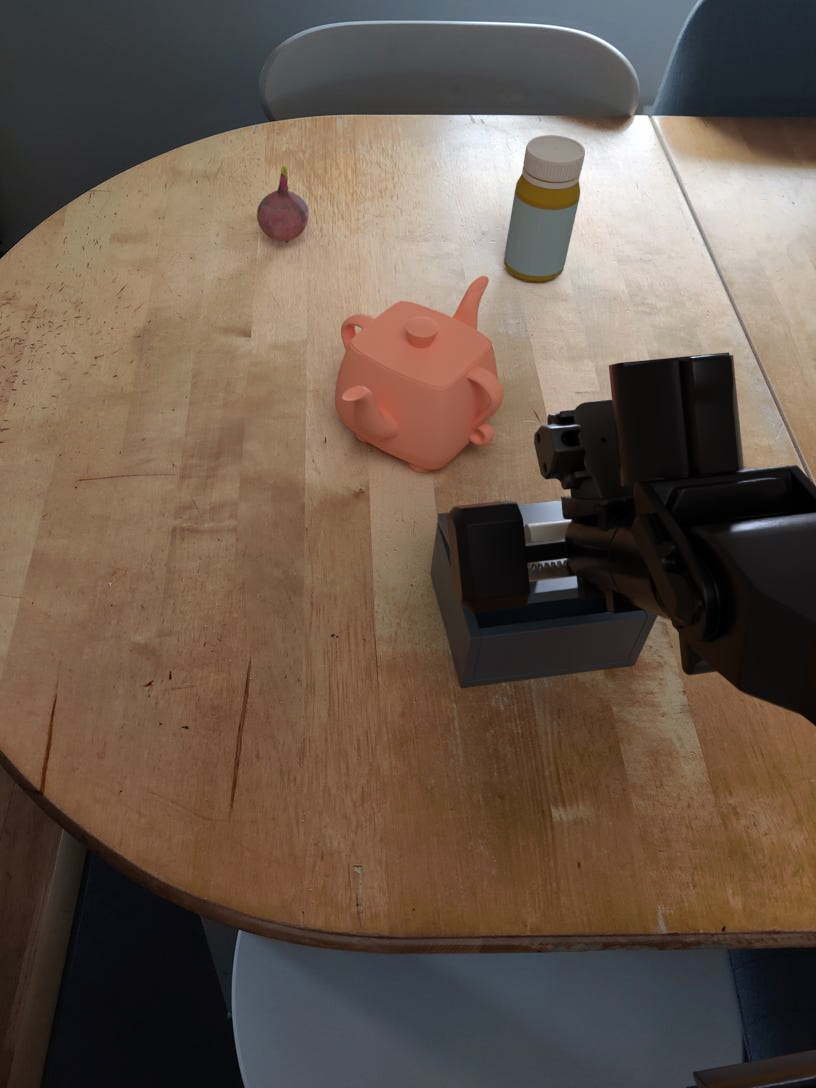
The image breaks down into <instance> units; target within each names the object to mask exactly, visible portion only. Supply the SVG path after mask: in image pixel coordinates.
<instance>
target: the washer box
mask: <svg viewBox="0 0 816 1088" xmlns="http://www.w3.org/2000/svg"><path fill="white" fill-rule="evenodd" d="M430 578H431V581H432V585H433V589H434V593H435V596H436V600H437V604H438V608H439V610H440V615H441V617H442V618H441V619H442V623H443V625H444V629H445V630H444V631H445V633H446V637H447V641H448V645H449V648H450V652H451V657H452V660H453V663H454V667H455V670H456V674H457V678H458V682H459V686H460V688H461V689H465V688H472V687H479V686H487V685H494V684H495V685H497V684H503V683H511V682H517V681H526V680H534V679H539V678H540V679H541V678H549V677H557V676H564V675H572V674H578V673H579V674H580V673H587V672H595V671H602V670H609V669H617V668H624V667H632V666H635V665H636V664H637V661H638V660H639V657H640V654H641V653H642V650H643V648H644V646H645V644H646V642H647V640H648V638H649V635H650V633H651V631H652V629H653V627H654V625H655V622H656V620H657V618H658V617H659V616H658V615H656V614H654V613H651V612H649V611H646V610H640V611H632V612H624V613H616V614H614V613H612V612H610V611H607V607H606V598H598V599H590V600H584V599H581V598H579V597H578V598H570V599H562V600H553V601H545V602H537V603H529V604H527V606H524V607H516V608H508V609H500V610H492V611H484V612H476V613H471V612H470V611H469V610H467V609H466V608H465V607H463V606H462V605H461V604H460V603H459V602H457V601H456V600H455V599H454V590H453V579H452V569H451V559H450V549H449V545H448V543H447V541H446V539H445V537H444V534H443V532H442V530H441V528H440V526H439V524H438V521H437V522H436V530H435V537H434V544H433V552H432V559H431V567H430Z"/></svg>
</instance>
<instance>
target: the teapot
mask: <svg viewBox="0 0 816 1088" xmlns="http://www.w3.org/2000/svg"><path fill="white" fill-rule="evenodd" d="M489 283H490V282H489V277H488V276H487V275H481V276H479V277H477V278H476V279H475V280H473V281H472V282H471V283H470V285H469V286H468V287H467V289H466V291H465V293H464V295H463V296H462V299H461V300H460V303H459V305H458V306H457V308H456V310H455V312H454V314H453V316H451V315H448V314H445V313H444V312H441V311H438V310H435V309H433V308H430V307H428V306H425V305H422V304H419V303H415V302H411V301H408V300H399V301H397V302H395V303H394V304H393V305H390V306H389V307H388V308H386V309H385V310H384V311H383V312H381V313H380V314H379V315H378V316H376V317H374V316H372V315H370V314H368V313H364V312H363V313H362V312H360V313H359V312H358V313H354V314H351V315H349V316H348V317H347V318H346V319H345V320H343V322H342V324H341V327H340V337H341V341H342V344H343V347H344V349H345V352H344V355H343V357H342V360H341V363H340V365H339V370H338V373H337V378H336V385H335V392H334V407H335V410H336V412H337V415H338V416H339V418H340V420H341V421H342V423H343V424H344V425H345V426H346V427H347V428H348V429H350V430H351V431H352V432H354V435H355V437H356V439H357V440H358V441H360V442H361V443H367V444H368V443H369V444H371V445H372V446H374V447H376V448H377V449H378V450H381V451H383V452H385V453H387V454H389V455H391V456H393V457H395V458H397V459H400V460H402V461H405V462H407V464H408V466H409V467H410V468H411V469H412V470H413V471H415V472H419V473H427V472H429V471H432V470H440V469H441V468H444V467H445V466H446V465H447V464H448V463H449V462H450V461H452V460H453V459H454V458H455V457H456V456H457V455H458V454H460V453H461V451H462V450H463V449H464V448H465V447H466V446H467V445H468V444H469V443H470V442H471V443H473V444H474V445H476V446H481V447H482V446H483V447H484V446H487V445H489V444H491V443H492V442H493V440H494V438H495V437H496V431H495V429H494V427H493V426H492V425H491V424H489V423H487V421H488V420H489V419H490V418H492V417H493V416H494V415H495V414H496V412H497V411H499V409H500V407H501V406H502V404H503V401H504V397H505V391H504V388H503V386H502V383H501V382H500V380H499V379H498V378H499V377H498V367H497V362H496V360H497V359H496V355H495V349H494V346H493V341H492V340H491V339H490V338H489V337H488V336H486V335H485V334H483V333H482V332H480V331H479V330H478V319H479V309H480V303H481V301H482V298H483V297H482V296H483V295H484V294H485V291H486V289H487V288H488V285H489ZM356 327H357V328H360V329H361V330H360V331H358V332H357V331H356Z"/></svg>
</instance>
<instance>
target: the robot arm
mask: <svg viewBox="0 0 816 1088" xmlns="http://www.w3.org/2000/svg"><path fill="white" fill-rule="evenodd" d="M735 369H736V368H735V358H734V355H733V354H730V352H718V353H709V354H708V353H707V354H696V355H688V356H677V357H676V356H675V357H667V358H654V359H645V360H634V361H625V362H617V363H612V364H609V365H608V372H609V383H610V393H611V394H610V395H611V399H603V400H602V399H601V400H591V401H585V402H581V403H579V404H578V405H577V406H576V407H575V409H568V410H560V412H557V413H556V412H555V413H549V414H548V415H547V419H546V421H547V424H543V425H540V426H539V428H538V429H537V430H536V431H535V433H534V435H533V444H534V450H535V455H536V458H537V462H538V468H539V473H540V476H542V478H543V479H544V480H546V481H547V480H554V479H555V480H557V481H559V482H560V487H561V488H562V490H563V491H566V490H567V491H568V490H569V492H570V495H565V496H561V497H560V500H561V504H562V515H563V518H564V519H569V520H570V519H571V522H570V523H569V525H568V527H567V530H566V534H565V538H562V539H553V540H544V541H536V542H527V543H525V533H524V523H523V517H522V515H521V512H520V509H519V507H518V505H519V504H518V502H517V501H513V500H501V501H499V500H498V501H489V502H478V503H471V504H470V503H469V504H461V505H454V506H452V508H451V509H450V511H449V512H447V513H448V515H447V516H446V519H447V529H448V539H449V549H450V559H451V569H452V579H453V590H454V599H455V600H456V601H457V602H459V603H460V604H461V605H462V606H463V607H465V608H466V609H467V610H469V611H470V612H471V613H476V612H484V611H492V610H500V609H508V608H516V607H524V606H527V604H528V601H529V597H530V584H529V582H533V581H542V580H550V579H558V578H567V577H575V576H577V587H578V597H579V598H581V599H584V600H590V599H598V598H606V607H607V611H610V612H612V613H614V614H616V613H624V612H632V611H640V610H646V611H649V612H651V613H654V614H656V615H658V616H657V617H661V618H663V619H665V620H668V621H670V622H671V625H672V627H673V628H674V629H675V630H676V631H677V634H678V642H679V654H680V664H681V669H682V671H683V673H684V674H685V675H687V676H696V675H702V674H710V673H718V674H719V675H720V676H721V677H722V678H724V679H725V680H726V681H727V682H728V683H730V684H731V685H732V686H733V687H734V688H735V689H736V690H737V691H739V692H740V693H742V694H744V695H747V696H749V697H751V698H755V699H756V700H759V701H762V702H765V703H768V704H770V705H773V706H776V707H778V708H781V709H784V710H787V711H790V712H791V713H794V714H797V715H799V716H801V717H803V718H805V719H806V720H807V721H808V722H809V723H810V724H812V725H813V726H814V727H816V485H815V483H814V482H813V481H812V480H811V478H809V477H808V476H807V474H806V473H805V472H804V471H803V470H802V469H801V467H799V466H798V465H797V464H787V465H777V466H770V467H752V466H744V465H745V464H744V454H743V453H744V452H743V444H742V433H741V422H740V413H739V412H740V411H739V403H738V402H739V400H738V391H737V390H738V389H737V380H736V370H735ZM558 559H567V560H564V561H563V565H562V562H561V561H557V565H556V564H555V562H553V561H552V562H551V564H550V566H549V563H547V562H545V564H544V567H543V565H542V563H538V567H536V564H532V566H531V568H530V566H529V565H528V564H527V563H532V562H541V561H549V560H558ZM692 1077H693V1079H694V1082H695V1085H690V1086H686V1087H685V1088H816V1049H812V1050H807V1051H801V1052H796V1053H790V1054H789V1053H788V1054H783V1055H779V1056H773V1057H767V1058H762V1059H757V1060H752V1061H751V1060H750V1061H745V1062H739V1063H735V1064H734V1063H733V1064H729V1065H728V1064H727V1065H724V1066H718V1067H712V1068H708V1069H702V1070H695V1071H692Z"/></svg>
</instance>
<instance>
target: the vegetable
mask: <svg viewBox="0 0 816 1088" xmlns="http://www.w3.org/2000/svg"><path fill="white" fill-rule="evenodd" d="M280 169H281V170H280V176H279V184H278V187H277V190H274V191H272V192H271V193H270V192H269V194H267V195H266V196H264V198H262V200H261V201H260V202H259V204H258V207H257V209H256V219H257V223H258V225H259V228H260V230H261V232H262V233H263V234H264V235H265V236H267V238H269V239H271V240H273V241H275V242H281V243H283V242H284V243H285V244H287V243H290V241H293V240H295V239H296V238H298V237H299V236H300V235H301V234H302V233H304V230H305V229H306V227H307V225H308V222H309V218H310V217H309V216H310V213H309V208H308V205H307V202H305V200H304V199H303V198H302V197H301V196H300V195H299V194H297V193H295V192H293V191H290V190H289V183H288V182H289V179H288V178H289V176H288V169H287V166H284V165H283V166H281V168H280Z"/></svg>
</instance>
